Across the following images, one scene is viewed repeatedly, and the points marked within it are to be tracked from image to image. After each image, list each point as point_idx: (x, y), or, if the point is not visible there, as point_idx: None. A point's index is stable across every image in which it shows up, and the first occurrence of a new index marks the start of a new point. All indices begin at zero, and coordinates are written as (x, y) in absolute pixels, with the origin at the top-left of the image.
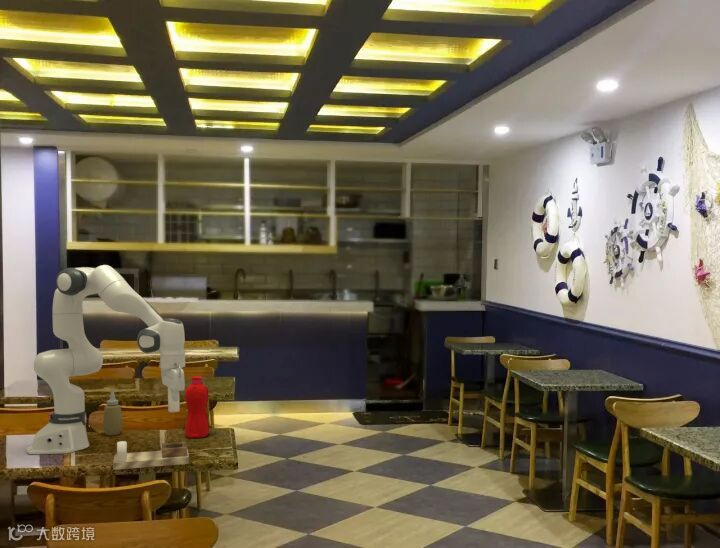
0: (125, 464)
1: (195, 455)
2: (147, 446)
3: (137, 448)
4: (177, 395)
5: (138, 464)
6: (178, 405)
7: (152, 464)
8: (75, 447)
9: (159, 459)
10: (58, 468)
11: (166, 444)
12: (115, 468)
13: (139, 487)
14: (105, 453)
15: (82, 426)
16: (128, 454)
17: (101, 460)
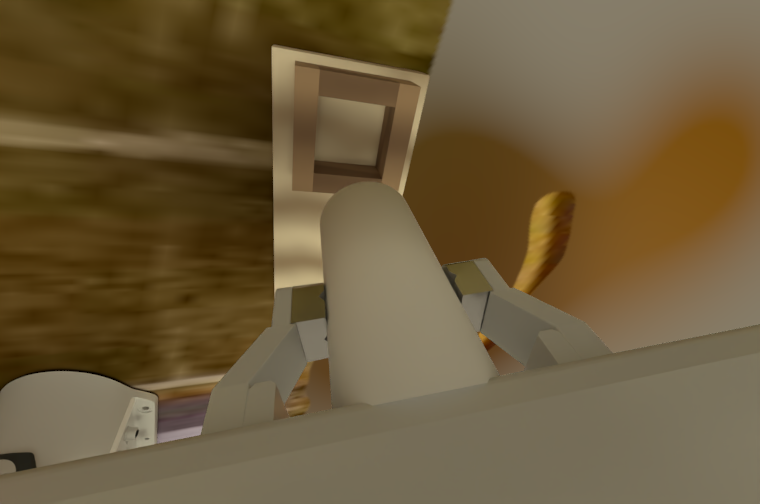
0: None
1: (292, 2)
2: (59, 203)
3: (99, 240)
4: (523, 302)
5: None
6: (412, 217)
7: None
8: (125, 397)
9: (402, 194)
10: (305, 386)
11: (313, 172)
12: None
13: (551, 242)
14: (171, 324)
15: (45, 452)
16: (292, 280)
17: (259, 326)
